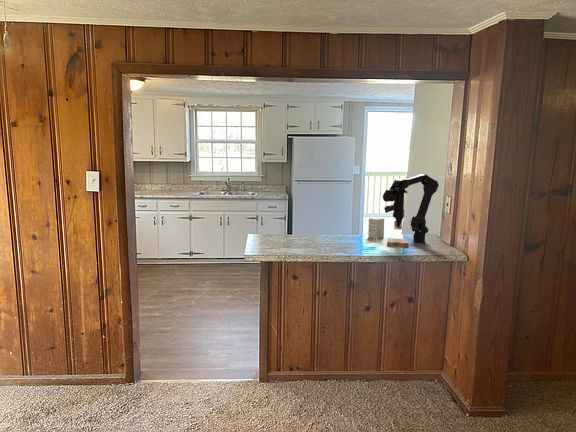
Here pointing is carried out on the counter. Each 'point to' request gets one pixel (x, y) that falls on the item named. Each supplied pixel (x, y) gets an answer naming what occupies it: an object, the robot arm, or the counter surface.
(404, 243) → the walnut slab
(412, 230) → the robot arm
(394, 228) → the maple cube
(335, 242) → the counter surface
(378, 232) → the supplement box
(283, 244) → the counter surface
